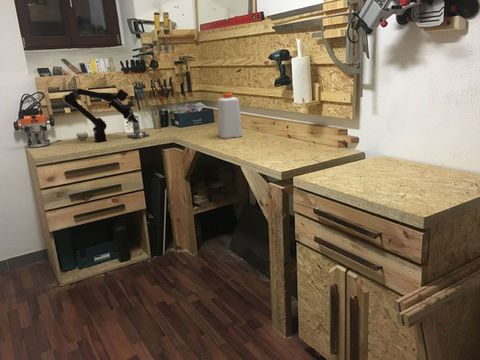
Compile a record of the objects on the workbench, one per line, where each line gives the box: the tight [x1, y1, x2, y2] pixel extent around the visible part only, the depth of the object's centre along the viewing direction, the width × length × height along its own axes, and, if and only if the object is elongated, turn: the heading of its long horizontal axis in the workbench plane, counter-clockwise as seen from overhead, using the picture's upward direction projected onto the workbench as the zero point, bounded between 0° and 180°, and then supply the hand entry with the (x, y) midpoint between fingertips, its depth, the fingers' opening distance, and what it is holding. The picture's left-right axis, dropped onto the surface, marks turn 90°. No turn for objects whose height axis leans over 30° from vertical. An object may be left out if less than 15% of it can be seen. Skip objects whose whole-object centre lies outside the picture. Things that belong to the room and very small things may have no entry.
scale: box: [126, 131, 150, 140], centre depth 278 cm, size 11×13×4 cm
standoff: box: [131, 115, 141, 134], centre depth 277 cm, size 4×4×12 cm
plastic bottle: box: [217, 92, 244, 139], centre depth 261 cm, size 15×15×28 cm
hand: (137, 121), depth 276 cm, fingers open, 9 cm apart
